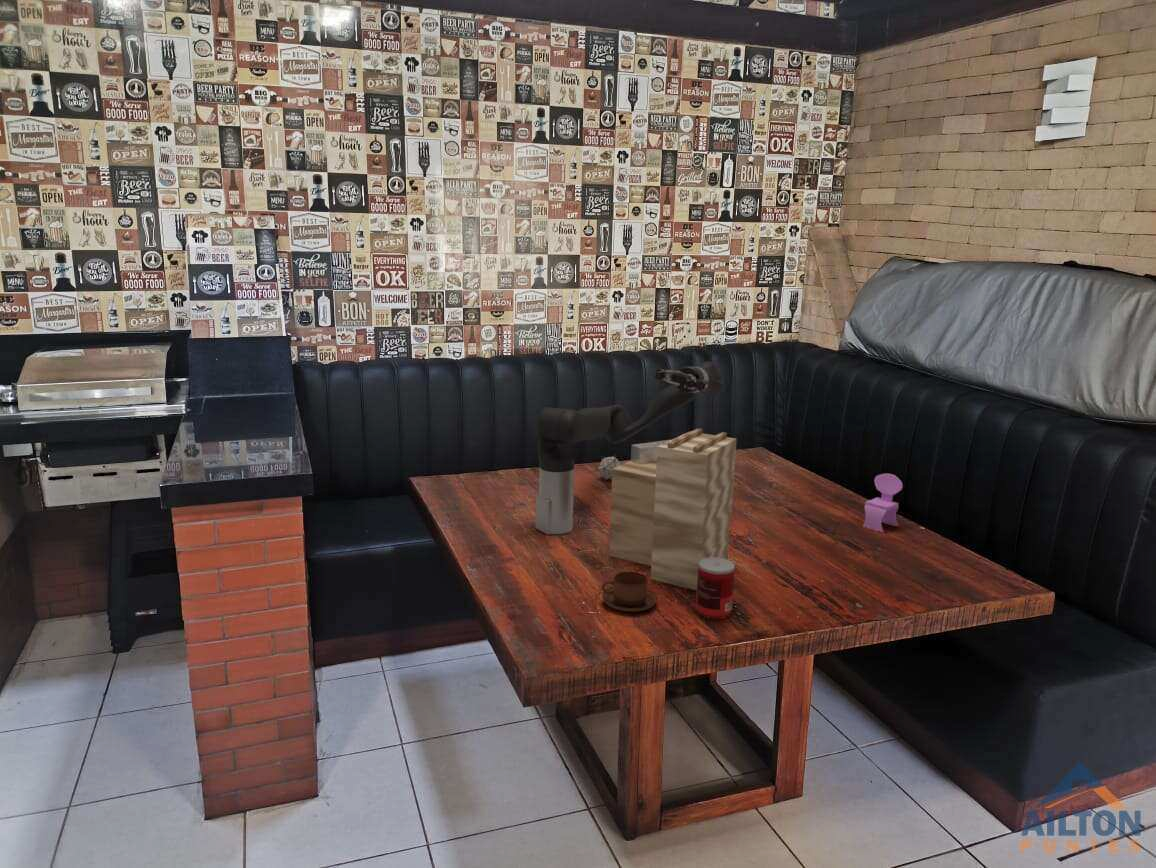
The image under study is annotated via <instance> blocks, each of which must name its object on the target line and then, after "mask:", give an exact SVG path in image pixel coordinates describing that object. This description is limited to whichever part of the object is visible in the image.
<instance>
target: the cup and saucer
mask: <svg viewBox="0 0 1156 868" xmlns="http://www.w3.org/2000/svg"><path fill="white" fill-rule="evenodd" d="M648 581H649V580H648V577H647V576H646V575H645V574H643V573H640V572H637V571H621V572H618V573H616V574H615V575H614V576H613V580H606V581H604V582H603V583H602V584H601V590H602V591H603V593H602V600H603V602H605V604H606V605H608V607H611V608H612V609H615V610H617V611H622V612H630V613H631V612H633V613H636V612H637V613H638V612H642V611H647V610H649V609H651V608H652V607H654V606H655V605H656V604H657V602H658V595H657V594H656V593H655V592H654V591H653V590H651V589H650V588H648V583H649V582H648ZM606 585H612V586H610V587H609V588H607V589H606Z"/></svg>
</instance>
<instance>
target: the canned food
mask: <svg viewBox="0 0 1156 868" xmlns="http://www.w3.org/2000/svg"><path fill="white" fill-rule="evenodd" d="M735 568H736V566H735V563H734V562H733V561H731V560H730V559H728V560H727V559H723V558H718V557H709V558H704V559H702V560H700V561H699V566H698V580H697V590H696V601H695V608H696V613H697V614H698V615H700V614H701V615H703V616H706V617H710V618H722V617H726V616H728V615H729V614H730V615H731V612H732V610H733V609H732V608H733V596H734V585H735V572H736V569H735ZM701 615H700V616H701ZM730 615H729V616H730ZM703 616H702V617H703ZM729 616H728V617H729ZM726 618H727V617H726Z"/></svg>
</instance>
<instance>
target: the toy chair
mask: <svg viewBox="0 0 1156 868" xmlns="http://www.w3.org/2000/svg"><path fill="white" fill-rule="evenodd" d="M874 485H875V487H876V488H875V489H876V490H877V491H879V492H880V493H881V495H880V496H881V497H878V496H877V497H875V498H872V499H870V500H866V501H865V505H864V513H865V520H864V523H863V525H862V528H865V527H866V528H865V529H868V528H869V529H868V530H871V529H873V530H872V531H875V530H876V532H878V531H880V532H879V533H881V532H883V533H882V534H884V533H885V532H884V528H883V526H882V522H883V523H884V524H886V525H889V526H893V527H896V526H898V527H899V525H898V520H897V518H896V515H897V512H898V509H899V502H896V501H893V497H894V496H895V495H896V494H898V493H899V492H901V491H902V490H903V482H902V480H900V478H899V477H898V476H896V474H892V473H881V474H877V475H876V476H875V478H874Z"/></svg>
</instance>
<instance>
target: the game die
mask: <svg viewBox="0 0 1156 868" xmlns="http://www.w3.org/2000/svg"><path fill="white" fill-rule="evenodd" d="M600 457H601V461H600V463H599V465H598V468H596V469H595V470H594V471H595V472H597V471H598V473H599V474H600V475H601V476H602V477H603V478H604V479H605V480H604V482H607V480H612V469H614V468H616V467H618V466H620V465H622V464H623V463H621V462H620V461H619V460H618V458H616V454H614V455H613V456H607V457H604V456H603V455H601V456H600Z"/></svg>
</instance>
